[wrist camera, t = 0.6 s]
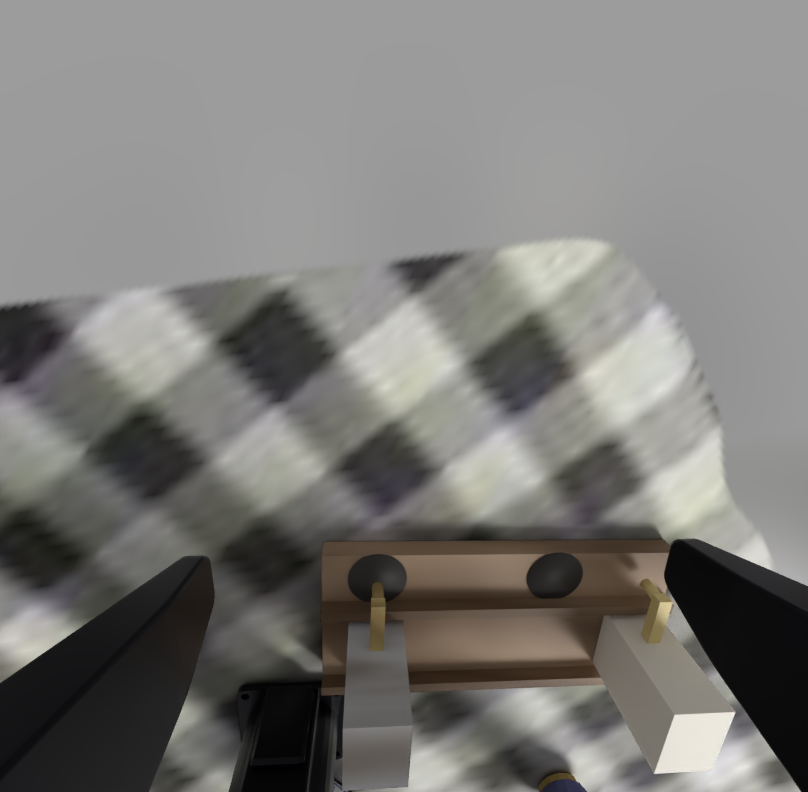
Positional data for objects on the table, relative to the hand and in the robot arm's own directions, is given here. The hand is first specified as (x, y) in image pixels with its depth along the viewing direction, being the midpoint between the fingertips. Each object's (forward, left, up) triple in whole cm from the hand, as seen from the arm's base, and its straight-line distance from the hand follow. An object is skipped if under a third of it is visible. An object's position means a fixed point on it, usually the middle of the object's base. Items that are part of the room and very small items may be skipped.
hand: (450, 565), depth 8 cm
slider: (-14, -14, -12) cm, 23 cm away
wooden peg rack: (-14, -6, -13) cm, 20 cm away
